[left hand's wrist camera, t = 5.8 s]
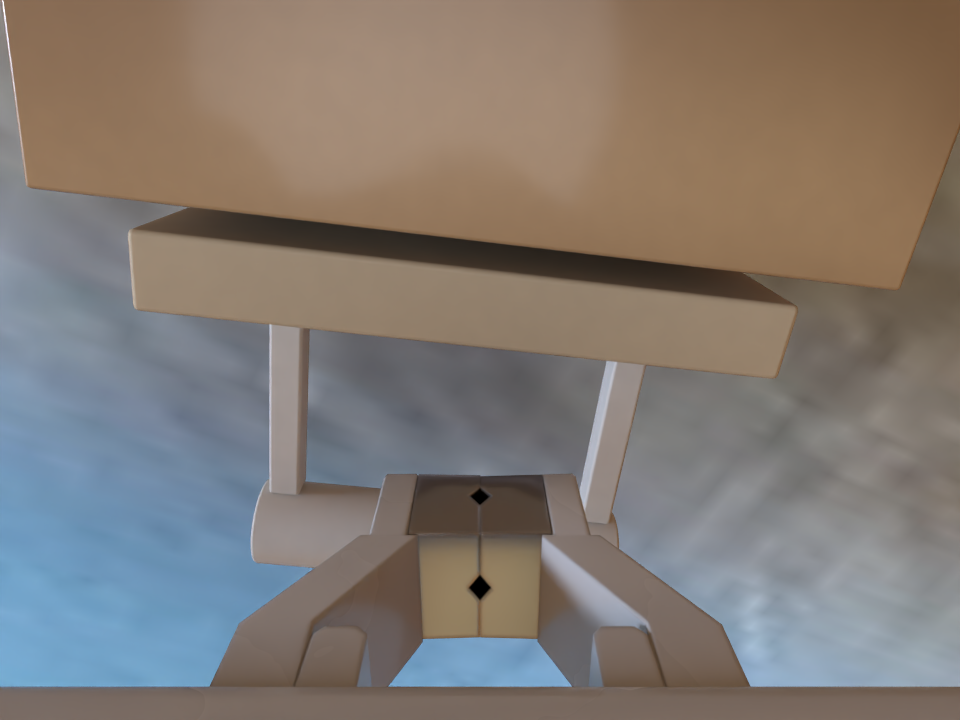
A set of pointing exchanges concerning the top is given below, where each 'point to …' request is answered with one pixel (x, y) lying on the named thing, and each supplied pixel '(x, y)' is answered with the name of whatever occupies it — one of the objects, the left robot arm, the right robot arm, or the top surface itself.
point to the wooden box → (513, 120)
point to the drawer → (442, 333)
